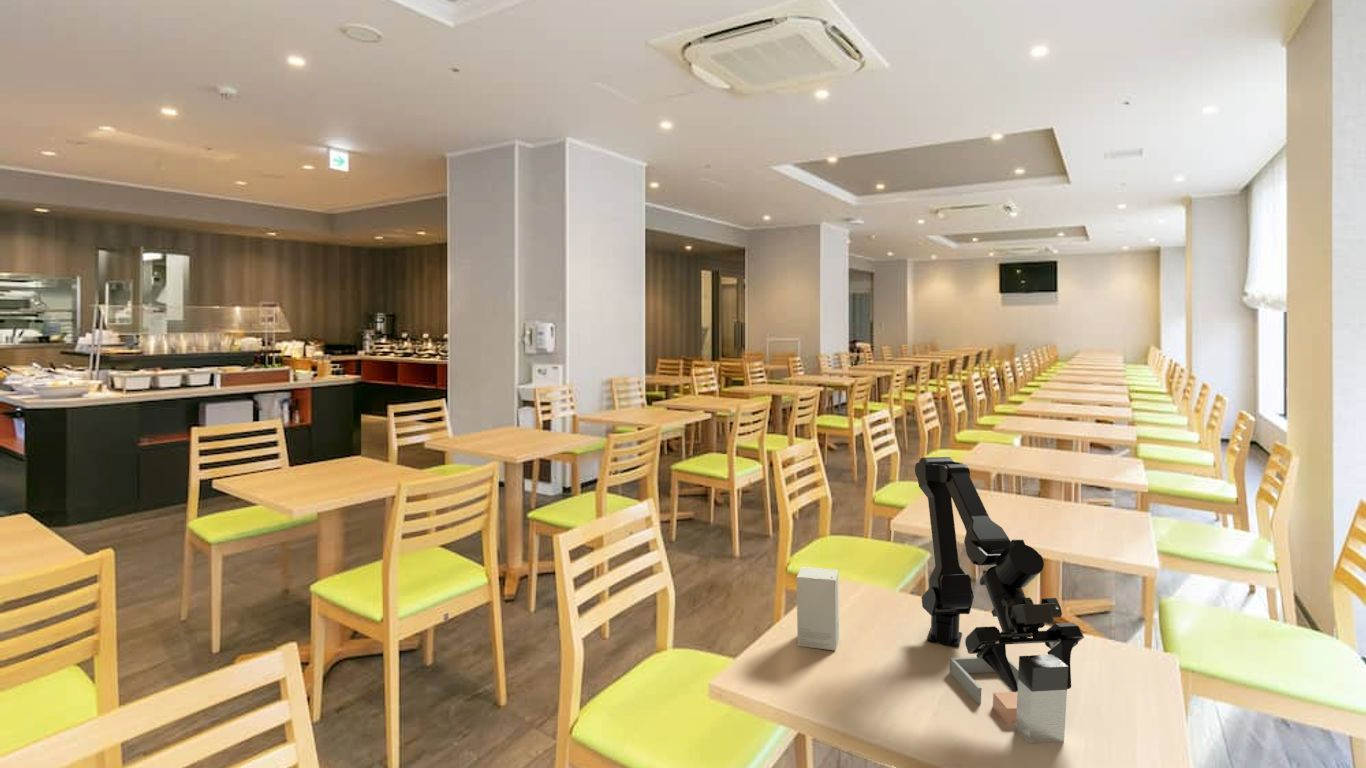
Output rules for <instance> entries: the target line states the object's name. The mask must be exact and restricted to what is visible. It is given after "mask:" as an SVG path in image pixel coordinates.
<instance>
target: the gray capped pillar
mask: <svg viewBox="0 0 1366 768" xmlns="http://www.w3.org/2000/svg"><path fill="white" fill-rule="evenodd" d="M1018 657H1019V658H1018V668H1019V671H1018V685H1017V687H1018V691H1017V712H1016V723H1015V730H1016V731H1017V732H1018V733H1019V734H1020V736H1021V737H1022V738H1024V740H1025V741H1026V742H1027V743H1028V744H1030V745H1031V744H1043V743H1045V744H1046V743H1047V744H1048V743H1061V742H1065V733H1066V732H1065V729H1066V716H1067V715H1066V713H1067V698H1068V697H1067V695H1068V693H1067V692H1068V689H1067V681H1068V666H1067V665H1066V664H1065V663H1063V662H1062V661H1061V660H1060V659H1058V658H1057V657H1056V656H1055V655H1053V654H1050V655H1048V654H1037V655H1035V654H1034V655H1033V654H1032V655H1031V654H1030V655H1019V656H1018Z"/></svg>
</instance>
